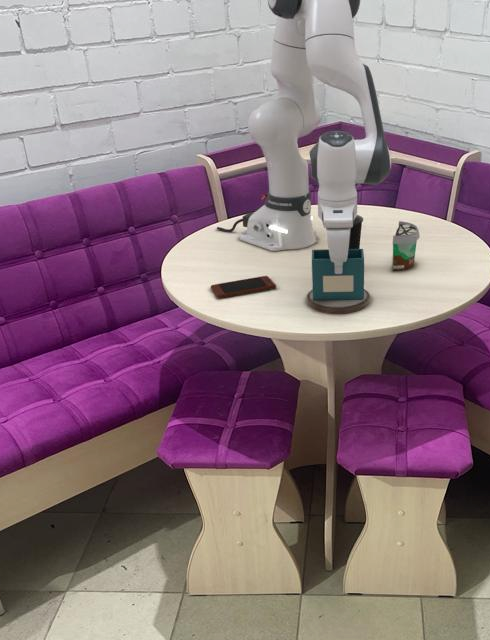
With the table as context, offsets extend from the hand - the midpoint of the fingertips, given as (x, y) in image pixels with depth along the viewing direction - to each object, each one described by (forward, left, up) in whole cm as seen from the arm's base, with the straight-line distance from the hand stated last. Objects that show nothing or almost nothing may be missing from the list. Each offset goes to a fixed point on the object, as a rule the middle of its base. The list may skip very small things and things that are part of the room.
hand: (338, 266), depth 175 cm
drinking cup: (-8, +18, -9) cm, 22 cm away
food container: (+4, +28, -9) cm, 30 cm away
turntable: (0, 0, -9) cm, 9 cm away
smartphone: (-24, -6, -9) cm, 26 cm away
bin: (0, 0, -7) cm, 7 cm away
